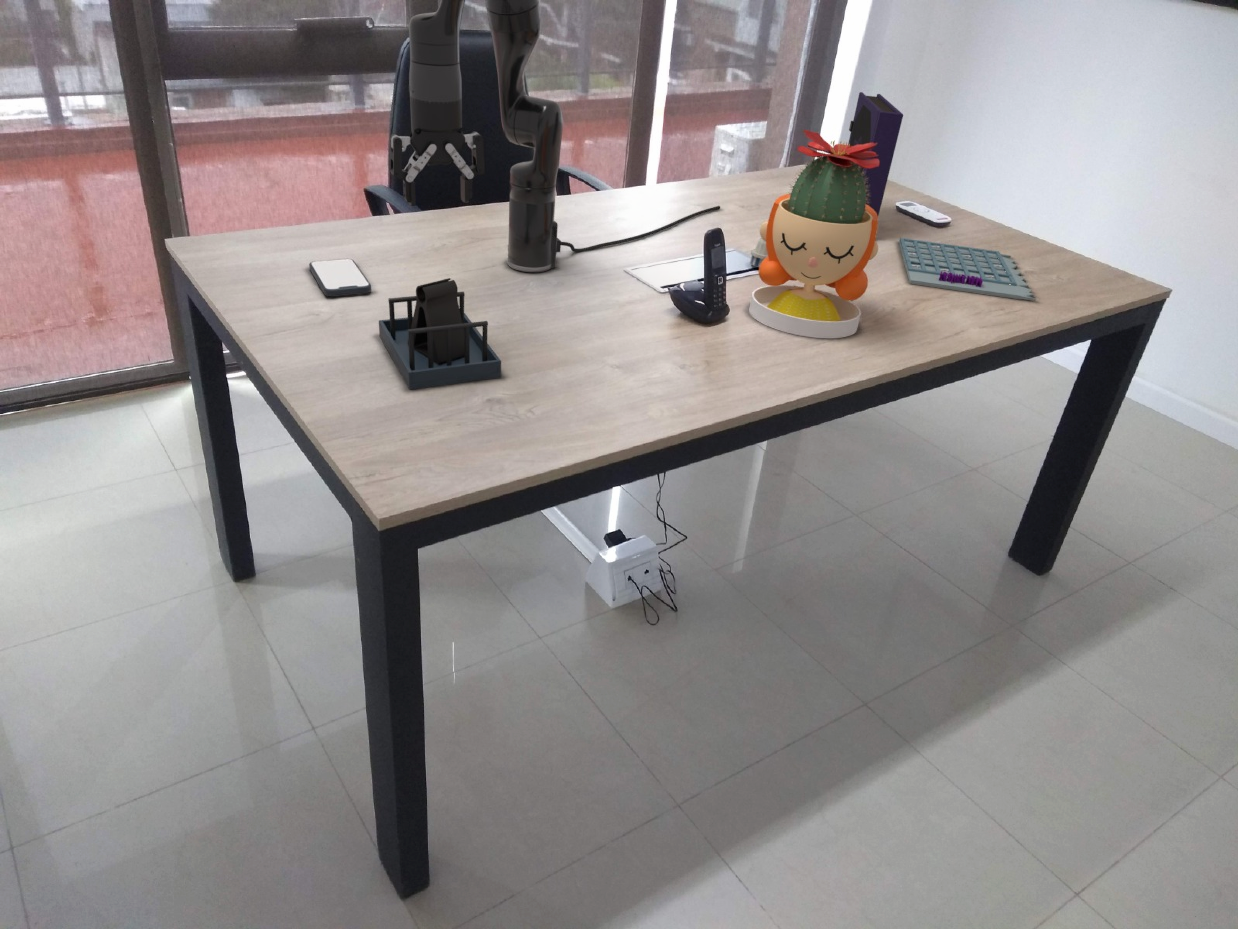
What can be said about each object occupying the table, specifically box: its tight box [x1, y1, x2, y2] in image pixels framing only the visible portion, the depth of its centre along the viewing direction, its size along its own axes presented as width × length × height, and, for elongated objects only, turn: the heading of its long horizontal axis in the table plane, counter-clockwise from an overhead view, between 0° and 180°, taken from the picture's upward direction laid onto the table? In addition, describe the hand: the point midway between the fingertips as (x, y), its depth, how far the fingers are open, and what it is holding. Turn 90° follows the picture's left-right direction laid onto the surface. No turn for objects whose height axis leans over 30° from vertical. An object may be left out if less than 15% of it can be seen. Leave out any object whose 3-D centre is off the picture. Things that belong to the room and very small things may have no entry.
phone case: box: [308, 258, 372, 297], centre depth 175 cm, size 9×2×16 cm
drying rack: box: [378, 291, 502, 390], centre depth 150 cm, size 15×20×8 cm
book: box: [847, 91, 904, 217], centre depth 227 cm, size 24×6×30 cm, turn 179°
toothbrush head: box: [749, 237, 768, 268], centre depth 207 cm, size 5×7×25 cm
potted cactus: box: [748, 129, 879, 339], centre depth 172 cm, size 22×22×35 cm
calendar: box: [898, 237, 1037, 302], centre depth 212 cm, size 27×29×2 cm
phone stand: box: [408, 277, 465, 365], centre depth 149 cm, size 9×6×12 cm, turn 44°
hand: (438, 202), depth 143 cm, fingers open, 8 cm apart
